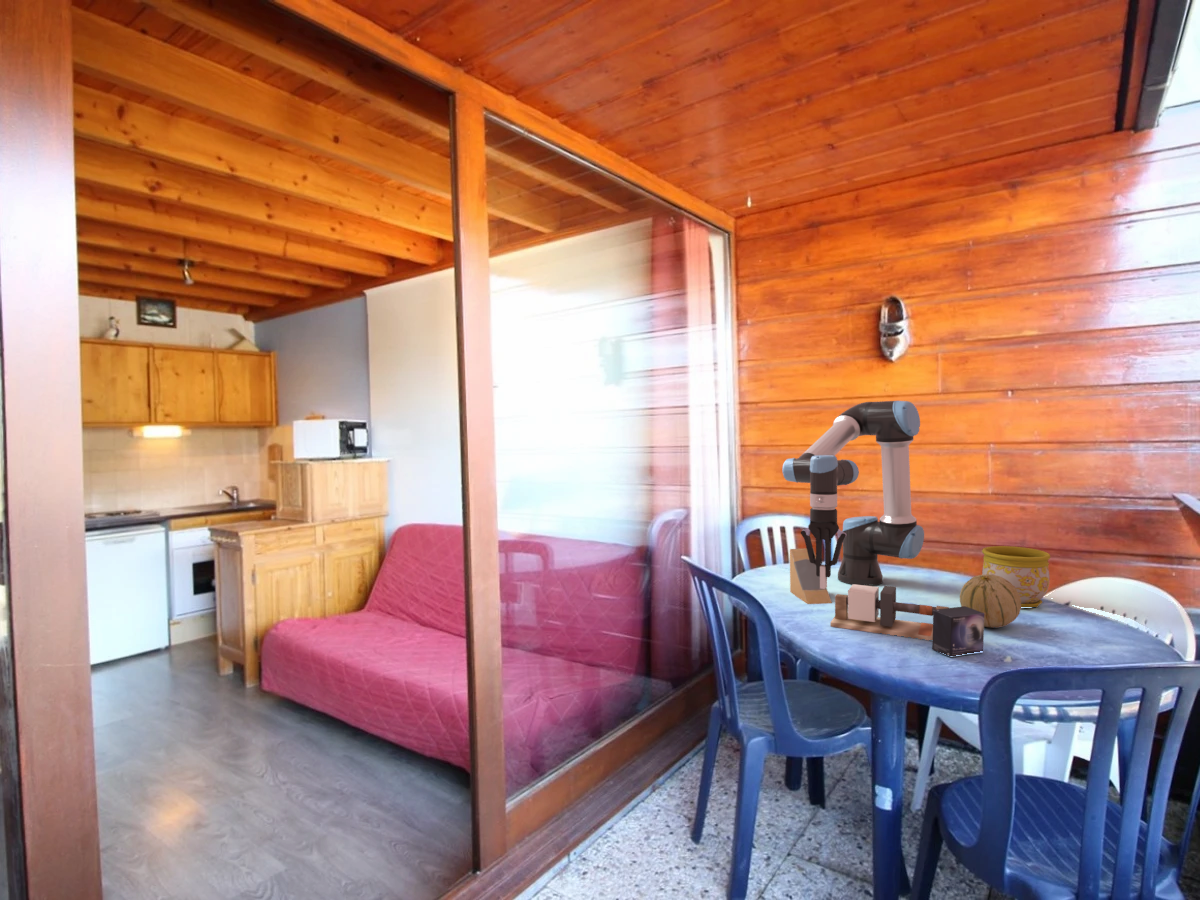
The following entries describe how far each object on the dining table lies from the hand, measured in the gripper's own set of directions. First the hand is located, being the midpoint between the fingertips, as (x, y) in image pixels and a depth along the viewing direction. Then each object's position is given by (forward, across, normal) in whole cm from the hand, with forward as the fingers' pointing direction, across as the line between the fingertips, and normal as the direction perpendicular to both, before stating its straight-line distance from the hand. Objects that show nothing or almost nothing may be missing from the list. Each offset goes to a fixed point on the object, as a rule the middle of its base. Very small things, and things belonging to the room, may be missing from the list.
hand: (823, 587), depth 190 cm
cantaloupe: (+10, +42, +15) cm, 46 cm away
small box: (+10, +35, -11) cm, 38 cm away
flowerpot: (+10, +49, +44) cm, 67 cm away
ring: (+8, +17, 0) cm, 19 cm away
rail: (+10, +18, 0) cm, 20 cm away
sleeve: (+7, +11, 0) cm, 13 cm away
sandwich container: (+10, -9, +22) cm, 26 cm away
